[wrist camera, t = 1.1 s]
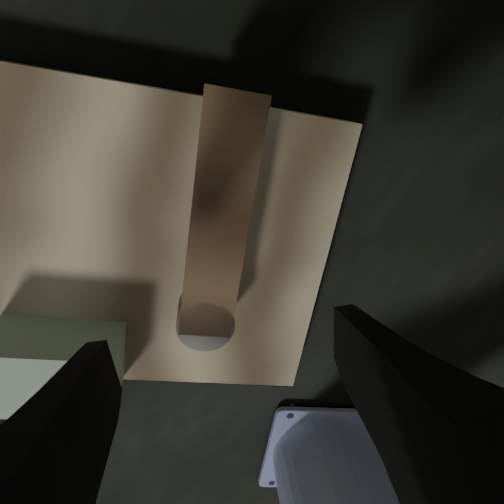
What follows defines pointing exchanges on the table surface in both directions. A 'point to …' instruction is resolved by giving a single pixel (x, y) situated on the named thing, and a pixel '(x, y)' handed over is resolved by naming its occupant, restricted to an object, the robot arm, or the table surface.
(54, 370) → the block
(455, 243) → the table surface
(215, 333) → the stool leg
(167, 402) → the table surface
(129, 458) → the table surface
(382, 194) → the table surface
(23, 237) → the stool seat
